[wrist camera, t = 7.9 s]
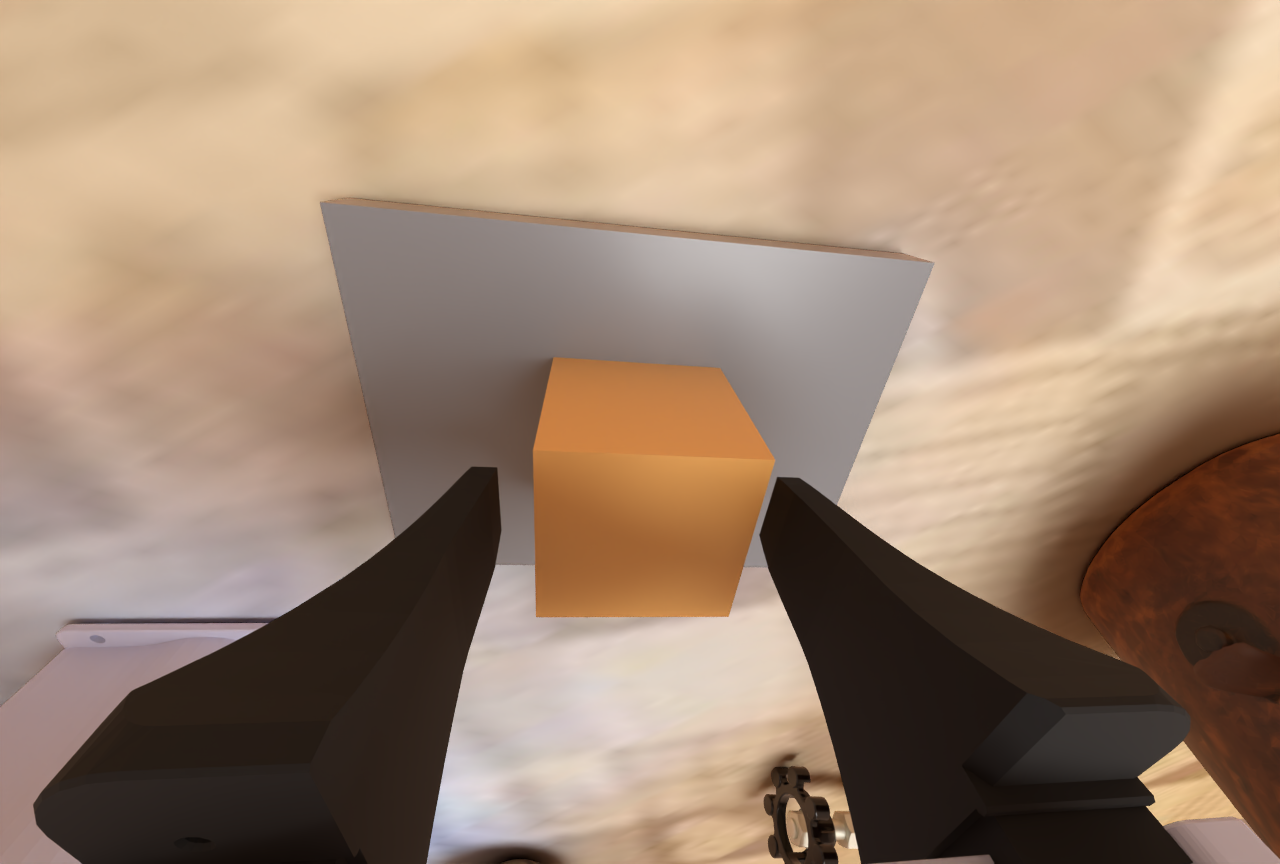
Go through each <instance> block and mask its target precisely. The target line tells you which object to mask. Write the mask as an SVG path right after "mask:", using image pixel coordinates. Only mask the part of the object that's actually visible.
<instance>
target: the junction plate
mask: <svg viewBox="0 0 1280 864" xmlns="http://www.w3.org/2000/svg"><path fill="white" fill-rule="evenodd" d="M320 205H321V209H322V214H323V218H324V223H325V227H326V232H327V236H328V240H329V245H330V249H331V254H332V258H333V263H334V267H335V272H336V276H337V281H338V285H339V289H340V294H341V298H342V303H343V307H344V312H345V316H346V321H347V325H348V330H349V334H350V338H351V343H352V347H353V352H354V356H355V361H356V365H357V370H358V374H359V379H360V383H361V387H362V392H363V396H364V401H365V405H366V410H367V414H368V419H369V423H370V428H371V432H372V436H373V441H374V445H375V450H376V454H377V459H378V463H379V468H380V472H381V476H382V481H383V485H384V490H385V494H386V499H387V503H388V508H389V512H390V517H391V521H392V525H393V530H394V534H395V538H396V537H397V536H399V535H400V534H401V533H402V532H403V531H404V530H406V529H407V528H408V527H409V526H410V525H411V524H413V523H414V522H415V521H416V520H417V519H418V518H419V517H420V516H421V515H422V514H423V513H425V512H426V511H427V510H428V509H429V508H430V507H431V506H432V505H433V504H434V503H435V502H436V501H437V500H438V499H439V498H440V497H441V496H442V495H443V494H444V493H445V492H446V491H447V490H448V489H449V488H450V487H451V486H452V485H453V484H454V483H455V482H456V481H457V480H458V479H459V478H460V477H461V476H462V475H463V474H464V473H465V472H466V471H467V470H468V469H469V468H471V467H497V470H498V484H499V499H500V514H501V529H502V531H501V537H500V542H499V548H498V554H497V559H496V564H495V565H535V532H534V480H533V448H534V443H535V439H536V434H537V430H538V425H539V421H540V416H541V412H542V407H543V402H544V398H545V393H546V389H547V384H548V380H549V375H550V371H551V366H552V362H553V357H559V358H575V359H590V360H605V361H621V362H636V363H652V364H667V365H682V366H698V367H713V368H721V370H722V372H723V373H724V375H725V377H726V378H727V380H728V382H729V383H730V385H731V387H732V388H733V390H734V392H735V393H736V395H737V397H738V398H739V400H740V402H741V403H742V405H743V407H744V408H745V410H746V412H747V413H748V415H749V417H750V418H751V420H752V422H753V423H754V425H755V427H756V428H757V430H758V432H759V433H760V435H761V437H762V438H763V440H764V442H765V444H766V445H767V447H768V449H769V450H770V452H771V454H772V455H773V457H774V459H775V463H774V466H773V470H772V473H771V476H770V480H769V483H768V486H767V490H766V493H765V496H764V500H763V503H762V506H761V510H760V513H759V516H758V520H757V523H756V526H755V530H754V533H753V536H752V540H751V543H750V546H749V550H748V553H747V556H746V560H745V563H744V566H743V567H768V566H767V562H766V559H765V555H764V552H763V548H762V544H761V540H760V536H759V534H760V531H761V528H762V525H763V521H764V518H765V515H766V511H767V508H768V505H769V502H770V498H771V495H772V492H773V489H774V485H775V482H776V479H777V477H795V478H800V479H802V480H803V481H805V482H806V483H808V484H809V485H811V486H812V487H813V488H815V489H816V490H817V491H819V492H820V493H821V494H823V495H824V496H825V497H827V498H828V499H829V500H831V501H832V502H833V503H834V504H836V505H837V503H838V501H839V498H840V496H841V493H842V491H843V488H844V486H845V483H846V481H847V478H848V476H849V473H850V471H851V468H852V466H853V463H854V461H855V459H856V456H857V454H858V451H859V449H860V446H861V444H862V441H863V439H864V436H865V434H866V431H867V429H868V426H869V424H870V421H871V419H872V417H873V414H874V412H875V409H876V407H877V404H878V402H879V399H880V397H881V394H882V392H883V389H884V387H885V384H886V382H887V379H888V377H889V375H890V372H891V370H892V367H893V365H894V362H895V360H896V357H897V355H898V352H899V350H900V347H901V345H902V342H903V340H904V337H905V335H906V333H907V330H908V328H909V325H910V323H911V320H912V318H913V315H914V313H915V310H916V308H917V305H918V303H919V300H920V298H921V295H922V293H923V290H924V288H925V286H926V283H927V281H928V278H929V276H930V273H931V271H932V268H933V266H934V263H933V262H930V261H926V260H923V259H920V258H916V257H913V256H910V255H906V254H902V253H892V252H882V251H872V250H862V249H852V248H842V247H832V246H822V245H813V244H803V243H793V242H783V241H773V240H763V239H753V238H743V237H733V236H723V235H713V234H703V233H694V232H684V231H674V230H664V229H654V228H644V227H634V226H624V225H614V224H604V223H594V222H584V221H574V220H565V219H555V218H545V217H535V216H525V215H515V214H505V213H495V212H485V211H475V210H465V209H455V208H446V207H436V206H426V205H416V204H406V203H396V202H386V201H376V200H366V199H356V198H344V199H337V200H331V201H324V202H320Z"/></svg>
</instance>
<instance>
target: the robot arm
mask: <svg viewBox="0 0 1280 864" xmlns="http://www.w3.org/2000/svg"><path fill="white" fill-rule="evenodd" d="M501 531H502V529H501V514H500V499H499V484H498V470H497V467H471V468H469V469H468V470H467V471H466V472H465V473H464V474H463V475H462V476H461V477H460V478H459V479H458V480H457V481H456V482H455V483H454V484H453V485H452V486H451V487H450V488H449V489H448V490H447V491H446V492H445V493H444V494H443V495H442V496H441V497H440V498H439V499H438V500H437V501H436V502H435V503H434V504H433V505H432V506H431V507H430V508H429V509H428V510H427V511H426V512H425V513H423V514H422V515H421V516H420V517H419V518H418V519H417V520H416V521H415V522H414V523H413V524H411V525H410V526H409V527H408V528H407V529H406V530H404V531H403V532H402V533H401V534H400V535H399V536H397V537H396V538H395V539H394V540H393V541H391V542H390V543H389V544H388V545H387V546H386V547H384V548H383V549H382V550H380V551H379V552H378V553H377V554H375V555H374V556H373V557H371V558H370V559H369V560H368V561H366V562H365V563H363V564H362V565H361V566H359V567H358V568H356V569H355V570H354V571H352V572H351V573H349V574H348V575H346V576H345V577H344V578H342V579H341V580H339V581H338V582H336V583H334V584H333V585H331V586H330V587H328V588H326V589H325V590H323V591H322V592H320V593H318V594H317V595H315V596H314V597H312V598H310V599H309V600H307V601H306V602H304V603H302V604H301V605H299V606H298V607H296V608H294V609H293V610H291V611H289V612H288V613H286V614H284V615H282V616H280V617H279V618H277V619H275V620H273V621H272V622H270V623H157V624H69V625H66V626H64V627H63V628H62V629H60V630H59V631H58V632H57V633H56V638H57V640H58V641H59V642H60V643H61V645H62V646H63V647H64V648H65V649H63V650H62V651H61V652H60V653H59V654H58V655H57V656H56V657H55V658H54V659H52V660H51V661H50V662H49V663H48V664H47V665H46V666H45V667H44V668H43V669H41V670H40V671H39V672H38V673H37V674H36V675H35V676H34V677H33V678H32V679H31V680H29V681H28V682H27V683H26V684H25V685H24V686H23V687H22V688H21V689H20V690H19V691H17V692H16V693H15V694H14V695H13V696H12V697H11V698H10V699H9V700H8V701H6V702H5V703H4V704H3V705H2V706H1V707H0V864H426V863H427V857H428V851H429V845H430V839H431V834H432V828H433V822H434V816H435V811H436V806H437V800H438V795H439V789H440V784H441V779H442V773H443V768H444V762H445V757H446V752H447V747H448V742H449V737H450V732H451V727H452V722H453V717H454V712H455V708H456V703H457V698H458V693H459V689H460V684H461V679H462V674H463V670H464V666H465V663H466V659H467V655H468V652H469V648H470V645H471V642H472V639H473V636H474V633H475V629H476V626H477V623H478V620H479V617H480V614H481V610H482V607H483V604H484V601H485V598H486V595H487V591H488V588H489V585H490V582H491V578H492V575H493V572H494V569H495V564H496V559H497V554H498V548H499V542H500V537H501ZM759 536H760V540H761V544H762V548H763V552H764V555H765V559H766V562H767V566H768V569H769V572H770V574H771V577H772V579H773V581H774V584H775V586H776V588H777V591H778V593H779V596H780V598H781V600H782V603H783V605H784V607H785V609H786V612H787V614H788V616H789V619H790V621H791V623H792V626H793V628H794V630H795V633H796V635H797V637H798V639H799V642H800V644H801V646H802V649H803V652H804V654H805V657H806V659H807V662H808V665H809V668H810V671H811V674H812V677H813V680H814V683H815V686H816V690H817V693H818V696H819V699H820V702H821V706H822V709H823V712H824V716H825V719H826V723H827V726H828V730H829V733H830V737H831V740H832V744H833V747H834V751H835V755H836V759H837V763H838V767H839V770H840V774H841V778H842V782H843V786H844V790H845V794H846V797H847V802H848V806H849V811H850V815H851V820H852V824H853V828H854V833H855V837H856V842H857V846H858V850H859V855H860V860H861V864H1280V859H1279V858H1278V857H1277V856H1276V855H1275V854H1274V853H1273V852H1272V851H1271V850H1270V849H1269V848H1268V847H1267V846H1266V845H1265V844H1264V843H1263V842H1262V841H1261V840H1260V839H1259V838H1258V837H1257V836H1256V834H1255V833H1253V831H1251V830H1250V828H1249V827H1248V826H1247V825H1246V824H1244V822H1243V821H1242V820H1240V819H1237V818H1234V817H1221V818H1206V819H1192V820H1183V821H1177V822H1174V823H1171V824H1168V825H1165V826H1162V825H1161V824H1160V823H1159V821H1158V820H1157V819H1156V818H1155V817H1154V816H1153V814H1152V813H1151V812H1150V811H1149V810H1148V808H1147V807H1146V806H1150V805H1152V804H1153V803H1155V799H1154V796H1153V795H1152V793H1151V792H1150V791H1149V790H1148V789H1147V788H1146V787H1145V785H1144V784H1143V783H1142V782H1141V781H1140V780H1139V779H1138V776H1139V775H1140V774H1142V773H1143V772H1144V771H1146V770H1147V769H1148V768H1150V767H1151V766H1152V765H1153V764H1155V763H1156V762H1157V761H1159V760H1160V759H1161V758H1163V757H1164V756H1165V755H1167V754H1168V753H1169V752H1171V751H1172V750H1173V749H1174V748H1175V747H1176V746H1178V745H1179V744H1180V743H1181V742H1182V741H1183V740H1184V739H1185V737H1186V736H1187V734H1188V733H1189V731H1190V723H1191V718H1190V715H1189V714H1188V713H1187V711H1186V710H1185V709H1184V708H1183V707H1182V706H1181V705H1180V704H1179V703H1178V702H1177V701H1175V700H1174V699H1173V698H1172V697H1171V696H1170V695H1169V694H1168V693H1167V692H1166V691H1165V690H1164V689H1163V688H1161V687H1160V686H1159V685H1158V684H1157V683H1156V682H1155V681H1154V680H1153V679H1152V678H1151V677H1150V676H1149V675H1147V674H1146V673H1145V672H1144V671H1143V670H1141V669H1140V668H1138V667H1135V666H1133V665H1130V664H1128V663H1125V662H1123V661H1120V660H1118V659H1115V658H1113V657H1110V656H1107V655H1105V654H1102V653H1100V652H1097V651H1095V650H1092V649H1090V648H1087V647H1085V646H1082V645H1079V644H1077V643H1074V642H1072V641H1069V640H1067V639H1065V638H1062V637H1060V636H1058V635H1056V634H1053V633H1051V632H1049V631H1047V630H1044V629H1042V628H1040V627H1038V626H1035V625H1033V624H1031V623H1029V622H1026V621H1024V620H1022V619H1020V618H1018V617H1016V616H1014V615H1012V614H1010V613H1008V612H1005V611H1003V610H1001V609H999V608H997V607H995V606H993V605H992V604H990V603H988V602H986V601H984V600H982V599H980V598H978V597H976V596H974V595H972V594H970V593H968V592H967V591H965V590H963V589H961V588H959V587H957V586H956V585H954V584H952V583H950V582H949V581H947V580H945V579H943V578H942V577H940V576H938V575H937V574H935V573H933V572H932V571H930V570H928V569H927V568H925V567H923V566H922V565H920V564H919V563H917V562H915V561H914V560H912V559H911V558H909V557H908V556H906V555H905V554H903V553H902V552H900V551H899V550H897V549H896V548H894V547H893V546H891V545H890V544H888V543H887V542H886V541H884V540H883V539H881V538H880V537H878V536H877V535H876V534H874V533H873V532H872V531H870V530H869V529H867V528H866V527H865V526H863V525H862V524H861V523H859V522H858V521H857V520H855V519H854V518H853V517H851V516H850V515H849V514H847V513H846V512H845V511H844V510H842V509H841V508H840V507H838V506H837V505H836V504H834V503H833V502H832V501H831V500H829V499H828V498H827V497H825V496H824V495H823V494H821V493H820V492H819V491H817V490H816V489H815V488H813V487H812V486H811V485H809V484H808V483H806V482H805V481H803V480H802V479H800V478H795V477H777V479H776V482H775V485H774V489H773V492H772V495H771V498H770V502H769V505H768V508H767V511H766V515H765V518H764V521H763V525H762V528H761V531H760V534H759Z"/></svg>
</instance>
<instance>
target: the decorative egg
mask: <svg viewBox="0 0 1280 864" xmlns="http://www.w3.org/2000/svg"><path fill="white" fill-rule="evenodd" d="M501 864H540V863H538V862H535V861H532V860H528V859H514V860H509V861H506V862H503V863H501Z"/></svg>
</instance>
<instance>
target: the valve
mask: <svg viewBox="0 0 1280 864" xmlns="http://www.w3.org/2000/svg"><path fill="white" fill-rule="evenodd" d="M771 776H772V782H773V784H774V786H775V787H776V795H775V794H766V795H765V797H764V808H765V811H766V813H767V814H768V815H770V816H772V818H773V822H774V835H770V836H769V839H768V848H769V852H770V854H771V856H772V857H773V858H783V860H784V862H785V864H838V856H837V853H836V850H835V848H834V846H835V843H836V840H837V842H838V844H839V845H841V846H843V847H845V848H848V849H858V846H857V842H856V837H855V833H854V828H853V824H852V820H851V815H850V811H835V812H834V815H833V819H832V818H831V817H830V809H829V805H828V803H827V801H826V799H825V798H823V797H812V796H810V795H809V794H808V793H807V792H806V791H805V790H804V782H808V783H810V782H811V781H810V775H809V772H808V770H807V769H806V768H805V767H796V766H791V767H789V769H788V768H781V767H775V768H774V769H773V770H772V773H771ZM787 778H788V780H789V783H788V781H787ZM789 798H795V799H796V800H797V802H798V804H799V805H800V808H801V809H800V810H799V811H789V812H788V815H787V823H786V817H785V813H786V805H787V802H788V800H789ZM786 828H787V829H786ZM787 832H788V835H789V838H790V840H791V842H792V844H794V845H796V846H798V847H805V848H806V850H805V851H803V852H793V850H792V848H791V845H790V842H789V839H788V835H787Z"/></svg>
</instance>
